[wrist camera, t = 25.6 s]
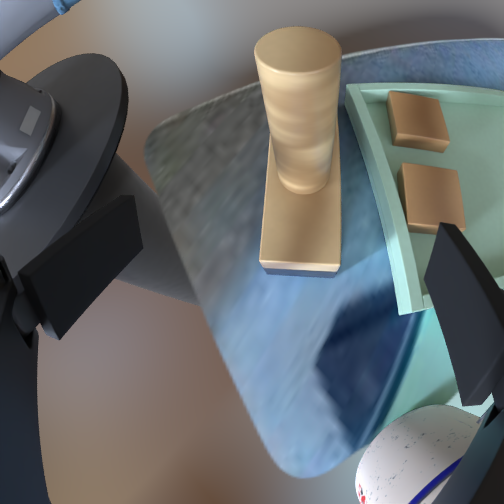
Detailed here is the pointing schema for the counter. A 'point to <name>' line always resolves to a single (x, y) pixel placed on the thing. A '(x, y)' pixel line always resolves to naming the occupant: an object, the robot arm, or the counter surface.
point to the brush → (301, 152)
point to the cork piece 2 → (430, 197)
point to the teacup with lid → (415, 456)
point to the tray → (454, 157)
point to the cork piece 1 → (416, 122)
